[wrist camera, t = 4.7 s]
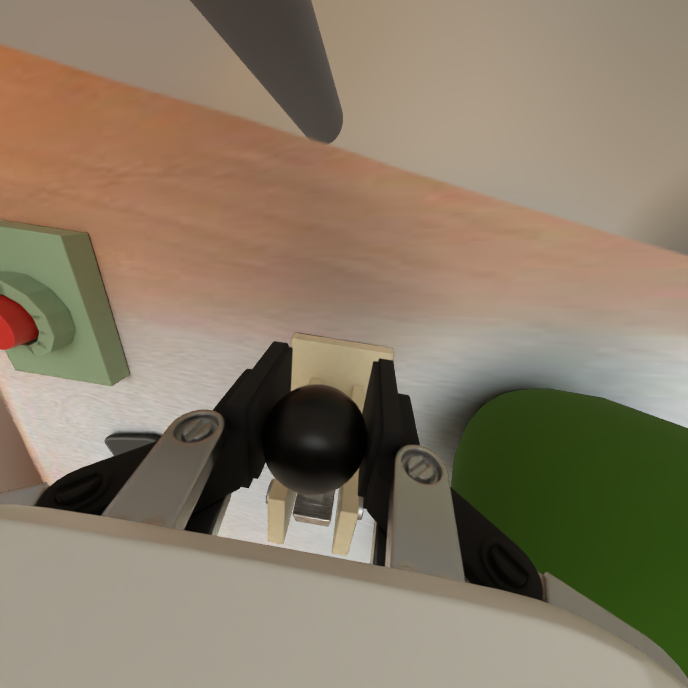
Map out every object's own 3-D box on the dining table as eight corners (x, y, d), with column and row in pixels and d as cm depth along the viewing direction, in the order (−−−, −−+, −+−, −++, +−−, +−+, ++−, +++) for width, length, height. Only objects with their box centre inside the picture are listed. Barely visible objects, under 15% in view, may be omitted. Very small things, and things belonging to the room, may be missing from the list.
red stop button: (-21, 291, 21) (-53, 297, 19) (27, 299, 21) (-1, 306, 19) (2, 336, 22) (-25, 345, 21) (47, 343, 22) (23, 353, 21)
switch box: (-29, 215, 22) (-107, 215, 18) (88, 233, 21) (32, 237, 18) (40, 359, 28) (-9, 380, 24) (130, 374, 28) (94, 398, 24)
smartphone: (152, 511, 38) (99, 438, 31) (157, 505, 39) (106, 432, 32) (199, 514, 37) (155, 438, 30) (203, 507, 38) (160, 432, 31)
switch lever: (274, 357, 8) (232, 467, 6) (378, 373, 8) (371, 491, 6) (298, 473, 19) (285, 527, 17) (342, 480, 19) (335, 535, 17)
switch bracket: (294, 332, 24) (225, 442, 12) (393, 347, 24) (413, 474, 12) (290, 428, 29) (238, 566, 18) (369, 442, 29) (369, 590, 18)
